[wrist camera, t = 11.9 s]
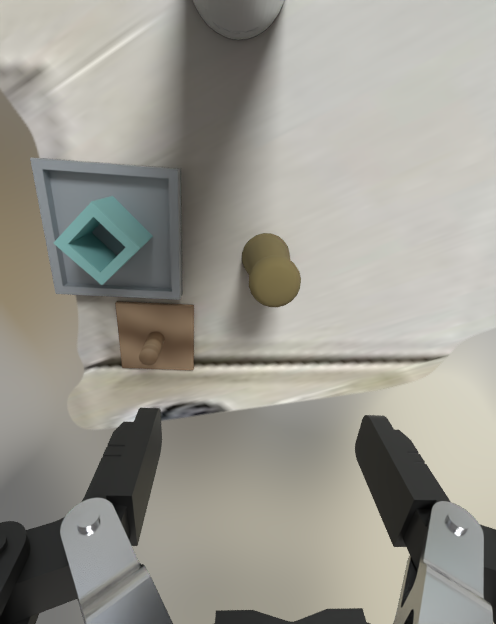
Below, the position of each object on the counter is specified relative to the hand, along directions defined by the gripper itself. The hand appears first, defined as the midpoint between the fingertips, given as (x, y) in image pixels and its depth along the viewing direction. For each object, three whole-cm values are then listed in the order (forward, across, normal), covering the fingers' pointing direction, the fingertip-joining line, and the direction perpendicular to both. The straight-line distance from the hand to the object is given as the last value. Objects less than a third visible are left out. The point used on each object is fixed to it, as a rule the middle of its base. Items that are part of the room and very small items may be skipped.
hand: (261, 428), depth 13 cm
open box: (+29, +15, -1) cm, 33 cm away
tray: (+30, +15, -1) cm, 34 cm away
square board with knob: (+30, +11, +13) cm, 34 cm away
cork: (+30, -3, +1) cm, 30 cm away
